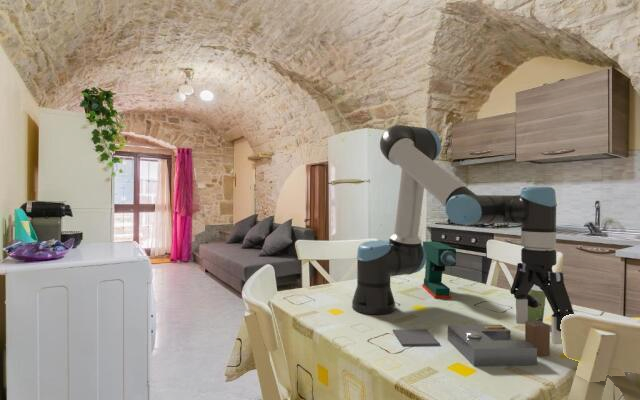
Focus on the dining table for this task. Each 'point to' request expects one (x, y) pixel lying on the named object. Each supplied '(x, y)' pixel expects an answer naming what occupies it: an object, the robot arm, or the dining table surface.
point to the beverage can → (536, 304)
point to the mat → (415, 337)
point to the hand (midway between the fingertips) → (538, 332)
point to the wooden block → (538, 336)
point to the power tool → (437, 268)
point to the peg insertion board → (491, 345)
